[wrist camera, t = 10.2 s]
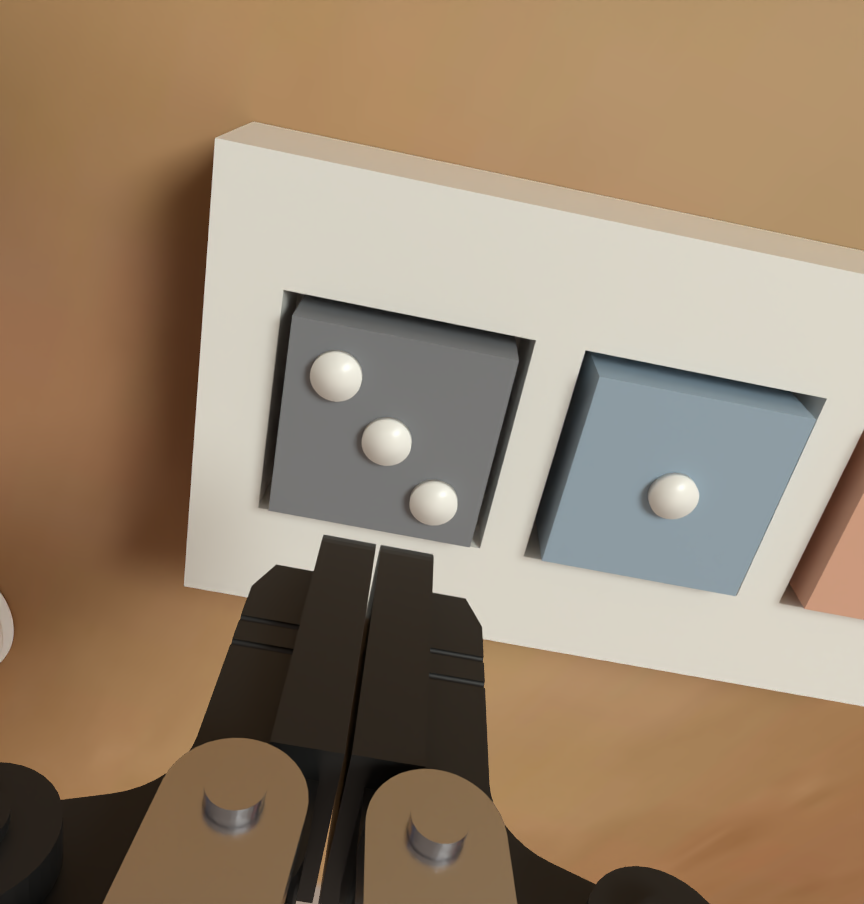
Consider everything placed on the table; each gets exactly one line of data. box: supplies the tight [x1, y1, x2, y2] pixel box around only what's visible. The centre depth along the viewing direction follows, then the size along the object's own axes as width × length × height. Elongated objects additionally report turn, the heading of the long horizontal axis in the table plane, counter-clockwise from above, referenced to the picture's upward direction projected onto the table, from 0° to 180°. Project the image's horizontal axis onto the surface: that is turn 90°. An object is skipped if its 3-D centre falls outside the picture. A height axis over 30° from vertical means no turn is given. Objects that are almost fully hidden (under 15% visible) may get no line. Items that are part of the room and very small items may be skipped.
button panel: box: [184, 122, 864, 706], centre depth 19 cm, size 20×10×3 cm, turn 79°
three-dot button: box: [268, 294, 519, 548], centre depth 18 cm, size 4×4×3 cm
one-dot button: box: [535, 350, 816, 596], centre depth 18 cm, size 4×4×3 cm
